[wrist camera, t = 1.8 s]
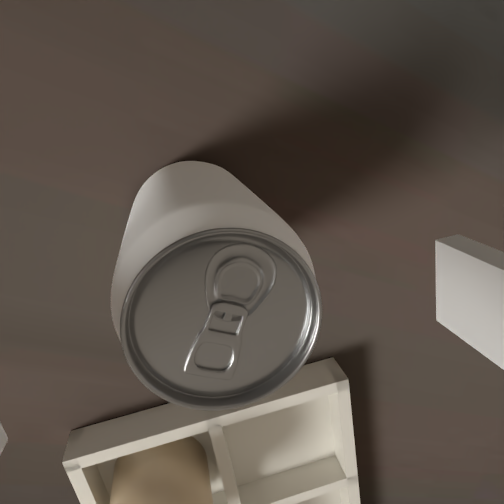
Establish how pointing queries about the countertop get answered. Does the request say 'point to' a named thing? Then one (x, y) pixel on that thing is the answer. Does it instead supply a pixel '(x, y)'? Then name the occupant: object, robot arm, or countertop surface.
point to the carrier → (241, 444)
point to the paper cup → (163, 475)
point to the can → (212, 291)
